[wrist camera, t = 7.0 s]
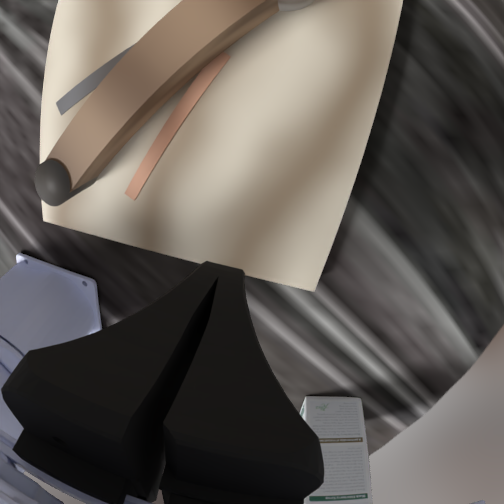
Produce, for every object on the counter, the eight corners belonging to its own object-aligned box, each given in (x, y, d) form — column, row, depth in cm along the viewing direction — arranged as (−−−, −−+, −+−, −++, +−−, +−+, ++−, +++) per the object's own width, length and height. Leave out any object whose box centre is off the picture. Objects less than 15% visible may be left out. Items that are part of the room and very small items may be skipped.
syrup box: (304, 394, 27) (296, 540, 15) (363, 395, 27) (374, 536, 14) (296, 423, 30) (287, 547, 18) (349, 424, 30) (352, 545, 17)
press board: (54, 212, 21) (42, 221, 20) (85, -45, 11) (73, -50, 10) (313, 278, 21) (314, 292, 20) (399, -17, 11) (408, -25, 10)
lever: (289, -57, 10) (287, -84, 7) (337, -12, 11) (347, -33, 8) (56, 161, 17) (24, 176, 14) (89, 200, 18) (60, 221, 15)
